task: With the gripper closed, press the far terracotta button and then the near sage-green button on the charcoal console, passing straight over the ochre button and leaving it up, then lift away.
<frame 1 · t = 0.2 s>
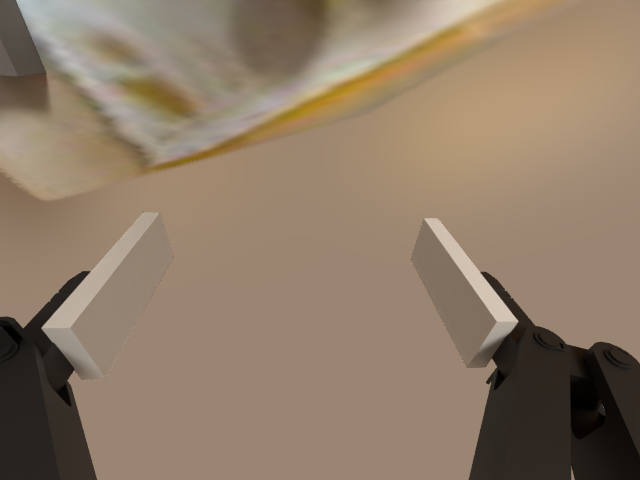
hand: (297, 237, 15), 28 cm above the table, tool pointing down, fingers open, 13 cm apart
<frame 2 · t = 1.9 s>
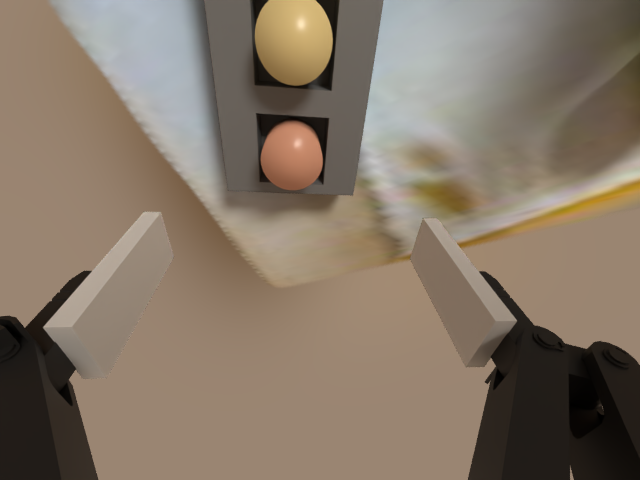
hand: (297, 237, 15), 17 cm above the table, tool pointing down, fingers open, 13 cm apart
terracotta button: (292, 153, 25), point 5 cm above the table, slide at 0.0 cm
ochre button: (294, 41, 20), point 5 cm above the table, slide at 0.0 cm
console: (294, 40, 24), on the table
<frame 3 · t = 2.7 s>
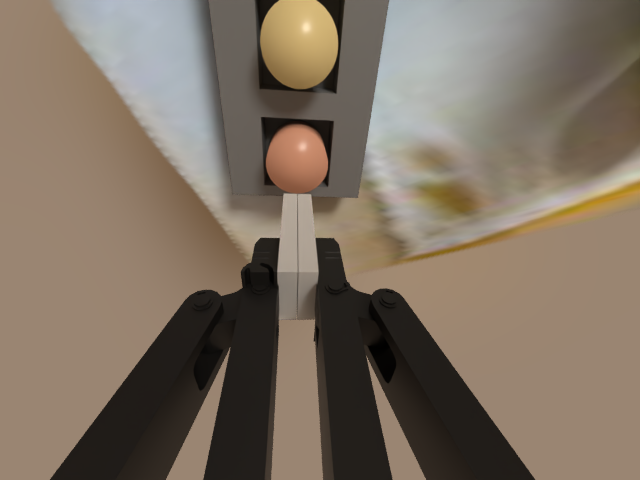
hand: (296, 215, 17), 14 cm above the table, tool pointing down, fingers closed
terracotta button: (297, 156, 25), point 5 cm above the table, slide at 0.0 cm
ochre button: (299, 44, 20), point 5 cm above the table, slide at 0.0 cm
console: (298, 43, 24), on the table
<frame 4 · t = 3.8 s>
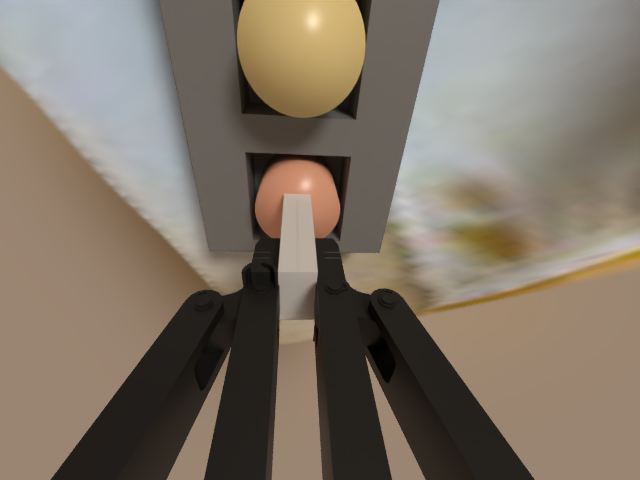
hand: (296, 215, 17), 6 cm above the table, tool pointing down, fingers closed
terracotta button: (297, 196, 18), point 3 cm above the table, slide at 1.2 cm, touching gripper
ochre button: (301, 48, 13), point 5 cm above the table, slide at 0.0 cm
console: (300, 45, 16), on the table
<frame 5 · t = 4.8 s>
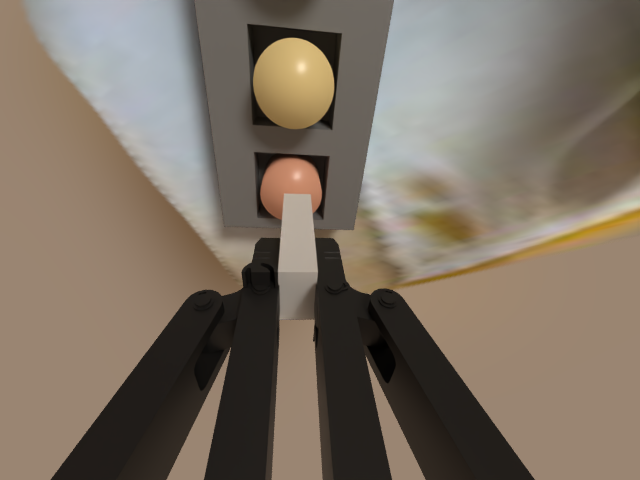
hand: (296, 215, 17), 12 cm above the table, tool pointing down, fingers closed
terracotta button: (291, 185, 25), point 3 cm above the table, slide at 1.3 cm
ochre button: (294, 83, 19), point 5 cm above the table, slide at 0.0 cm
console: (294, 76, 23), on the table
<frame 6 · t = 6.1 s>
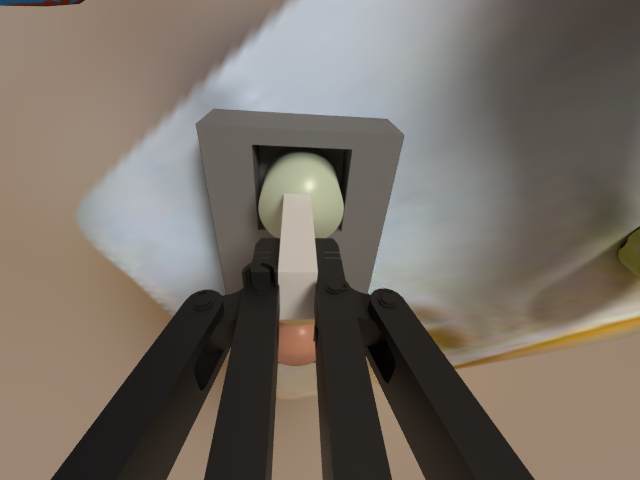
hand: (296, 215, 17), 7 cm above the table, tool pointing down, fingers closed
terracotta button: (296, 333, 29), point 3 cm above the table, slide at 1.3 cm
ochre button: (298, 285, 23), point 5 cm above the table, slide at 0.0 cm
console: (298, 251, 27), on the table
sage button: (301, 195, 18), point 4 cm above the table, slide at 0.1 cm, touching gripper
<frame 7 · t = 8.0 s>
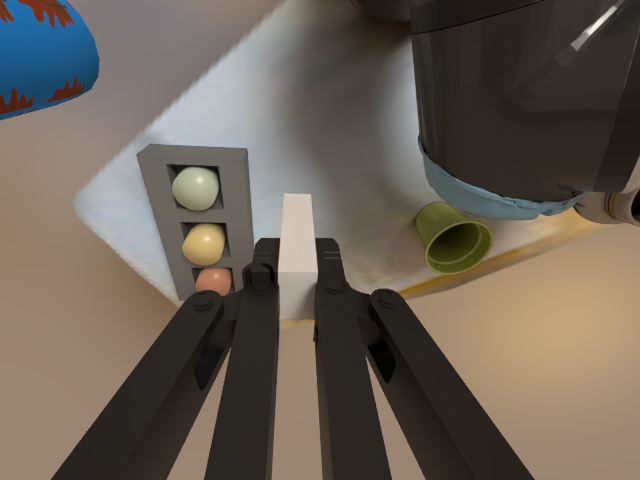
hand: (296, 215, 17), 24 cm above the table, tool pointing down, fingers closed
thermos: (43, 41, 29), on the table
terracotta button: (215, 278, 45), point 3 cm above the table, slide at 1.3 cm
ochre button: (205, 242, 40), point 5 cm above the table, slide at 0.0 cm
plant pot: (432, 217, 46), on the table
console: (212, 225, 43), on the table
sage button: (198, 185, 36), point 3 cm above the table, slide at 1.3 cm
apothecary jar: (536, 132, 40), on the table
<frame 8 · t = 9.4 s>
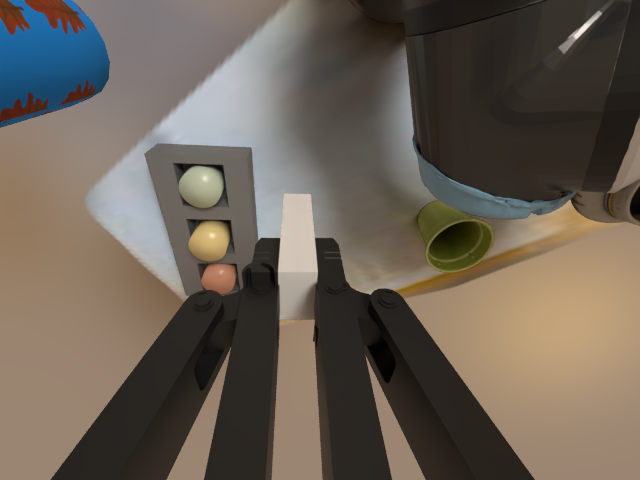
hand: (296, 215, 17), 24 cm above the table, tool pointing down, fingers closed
thermos: (56, 46, 31), on the table
terracotta button: (220, 274, 46), point 3 cm above the table, slide at 1.3 cm
ochre button: (211, 239, 41), point 5 cm above the table, slide at 0.0 cm
plant pot: (434, 215, 47), on the table
console: (218, 222, 44), on the table
sage button: (203, 183, 37), point 3 cm above the table, slide at 1.3 cm
apothecary jar: (539, 131, 40), on the table
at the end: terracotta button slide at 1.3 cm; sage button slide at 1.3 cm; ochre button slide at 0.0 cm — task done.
